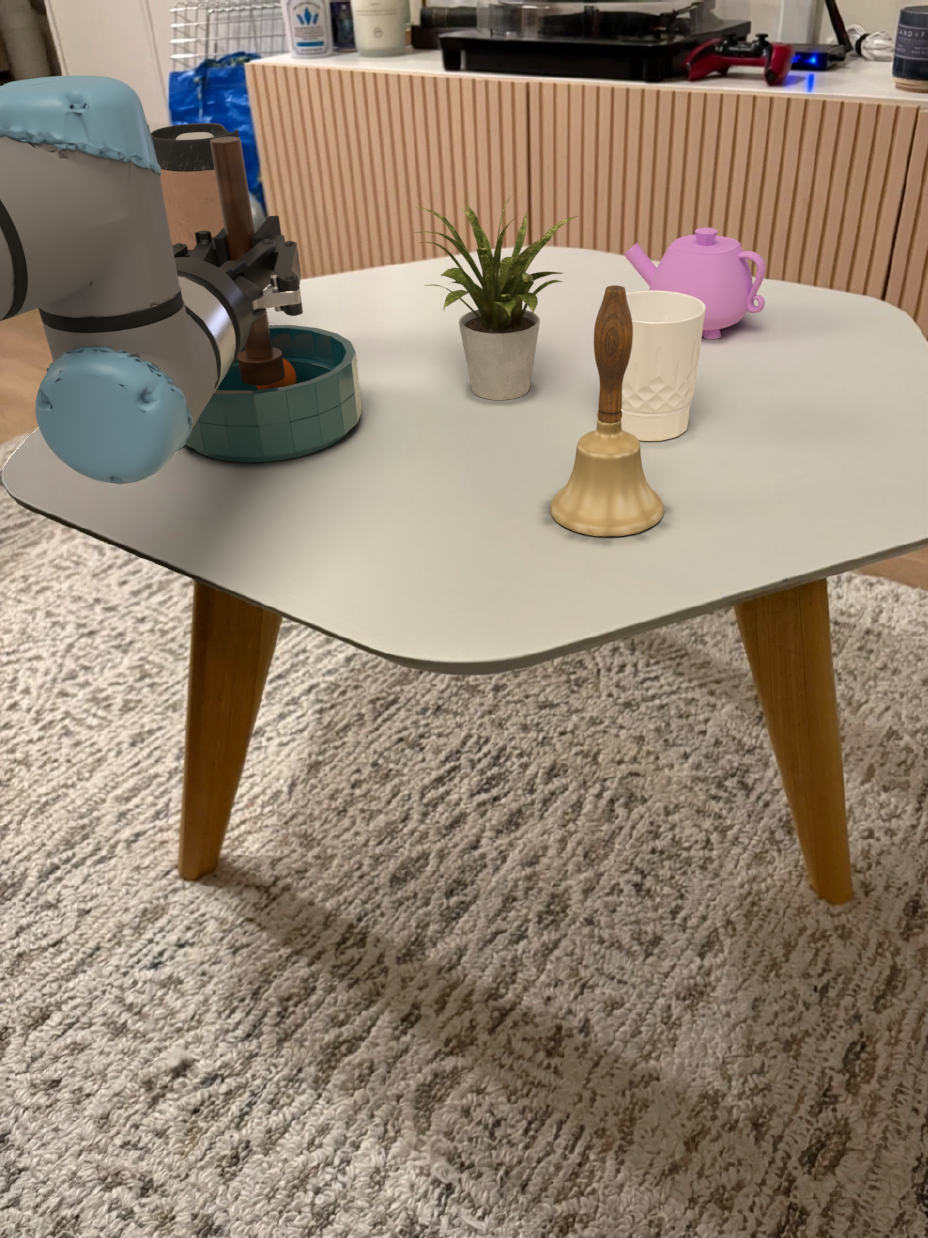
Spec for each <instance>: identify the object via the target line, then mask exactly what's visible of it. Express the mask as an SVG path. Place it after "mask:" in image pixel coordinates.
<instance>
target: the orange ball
mask: <svg viewBox="0 0 928 1238" xmlns="http://www.w3.org/2000/svg"><path fill="white" fill-rule="evenodd" d="M283 364H284V371H285V377H284V379H282V380H281V381H279V382H277V383H274V384H270V385H262V386H256V387H257V389H258V390H262V389H270V388H278V387H286V386H290V385H294V384H296V373H295V370H294V368H293V366H292V365H291V364H290V363H289V362H288V361H287V360H285V359H284V358H283Z"/></svg>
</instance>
